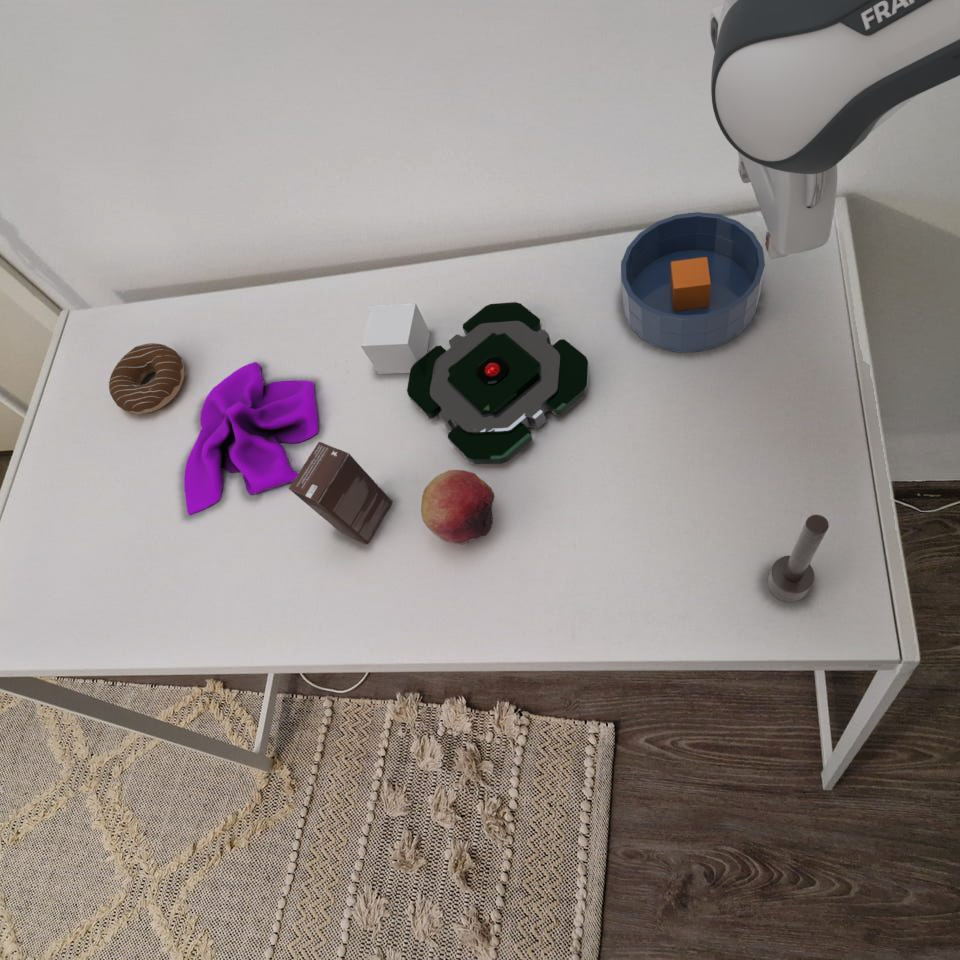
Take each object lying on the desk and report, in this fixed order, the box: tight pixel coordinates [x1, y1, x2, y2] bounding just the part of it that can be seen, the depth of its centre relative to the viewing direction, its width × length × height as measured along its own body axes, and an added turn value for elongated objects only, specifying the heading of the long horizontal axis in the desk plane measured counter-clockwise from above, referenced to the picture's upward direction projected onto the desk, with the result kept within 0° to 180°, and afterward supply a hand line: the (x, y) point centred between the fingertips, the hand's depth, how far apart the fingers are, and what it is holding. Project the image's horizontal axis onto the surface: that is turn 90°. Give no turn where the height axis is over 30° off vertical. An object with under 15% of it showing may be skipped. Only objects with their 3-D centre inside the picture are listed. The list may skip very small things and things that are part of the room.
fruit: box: [420, 469, 495, 546], centre depth 74 cm, size 8×8×8 cm
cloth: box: [183, 361, 319, 516], centre depth 87 cm, size 22×19×6 cm
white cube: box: [360, 302, 431, 375], centre depth 87 cm, size 6×6×6 cm
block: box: [671, 257, 711, 311], centre depth 81 cm, size 4×4×4 cm
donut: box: [108, 342, 185, 414], centre depth 96 cm, size 11×11×4 cm
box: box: [288, 441, 393, 545], centre depth 75 cm, size 6×4×12 cm
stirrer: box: [767, 514, 830, 603], centre depth 60 cm, size 4×4×15 cm
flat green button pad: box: [406, 301, 590, 465], centre depth 82 cm, size 18×18×5 cm
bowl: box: [620, 211, 766, 353], centre depth 81 cm, size 15×15×6 cm
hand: (763, 212), depth 62 cm, fingers open, 8 cm apart
